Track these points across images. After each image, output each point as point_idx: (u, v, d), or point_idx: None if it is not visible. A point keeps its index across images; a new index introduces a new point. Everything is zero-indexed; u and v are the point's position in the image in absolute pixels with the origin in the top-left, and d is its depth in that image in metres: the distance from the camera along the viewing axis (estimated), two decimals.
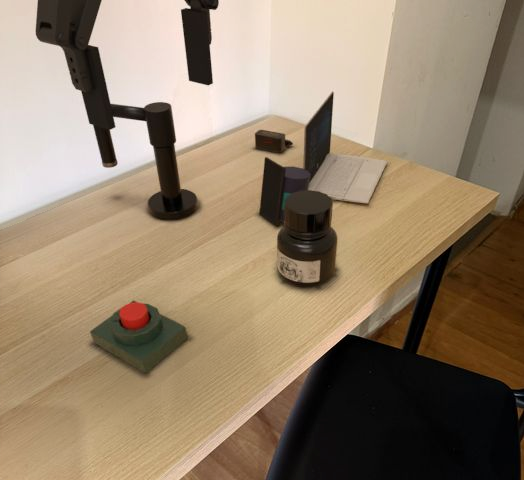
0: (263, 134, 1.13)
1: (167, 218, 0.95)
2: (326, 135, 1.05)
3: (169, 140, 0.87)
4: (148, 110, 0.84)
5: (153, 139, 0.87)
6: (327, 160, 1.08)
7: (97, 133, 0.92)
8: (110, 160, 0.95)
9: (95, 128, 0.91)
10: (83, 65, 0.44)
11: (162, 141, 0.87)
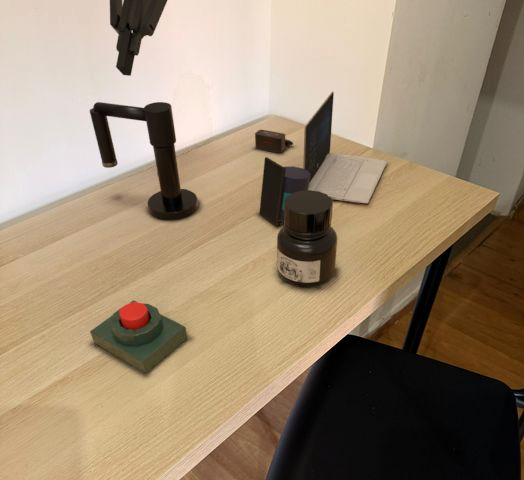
0: (263, 134, 1.13)
1: (167, 218, 0.95)
2: (326, 135, 1.05)
3: (169, 140, 0.87)
4: (148, 110, 0.84)
5: (153, 139, 0.87)
6: (327, 160, 1.08)
7: (97, 133, 0.92)
8: (110, 160, 0.95)
9: (95, 128, 0.91)
10: None
11: (162, 141, 0.87)
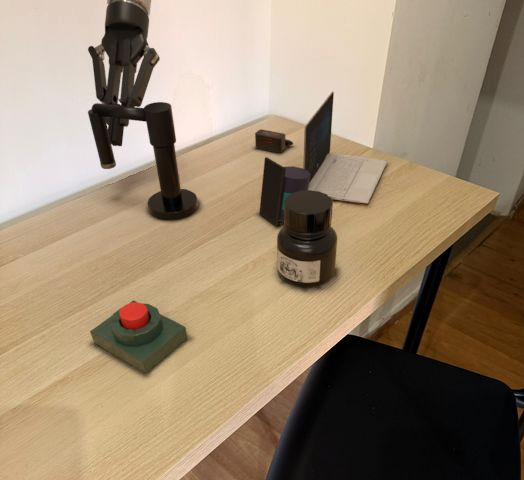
0: (263, 134, 1.13)
1: (167, 218, 0.95)
2: (326, 135, 1.05)
3: (169, 140, 0.88)
4: (148, 110, 0.84)
5: (154, 139, 0.87)
6: (327, 160, 1.08)
7: (96, 134, 0.91)
8: (109, 161, 0.95)
9: (94, 129, 0.91)
10: None
11: (163, 141, 0.87)
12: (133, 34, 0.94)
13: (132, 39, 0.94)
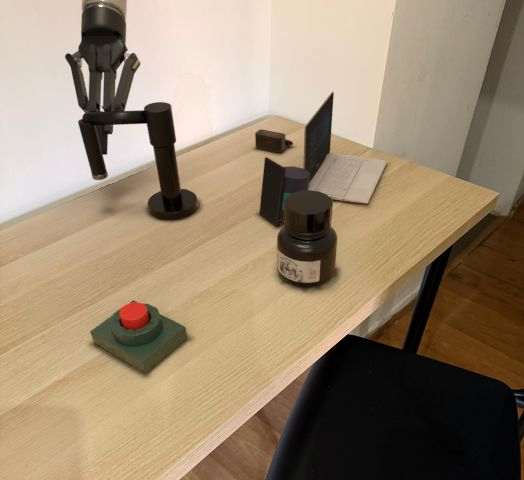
0: (263, 134, 1.13)
1: (167, 218, 0.95)
2: (326, 135, 1.05)
3: (172, 138, 0.88)
4: (152, 111, 0.84)
5: (158, 140, 0.87)
6: (327, 160, 1.08)
7: (89, 145, 0.88)
8: (102, 171, 0.92)
9: (87, 140, 0.88)
10: None
11: (167, 140, 0.87)
12: (112, 39, 0.92)
13: (111, 44, 0.92)
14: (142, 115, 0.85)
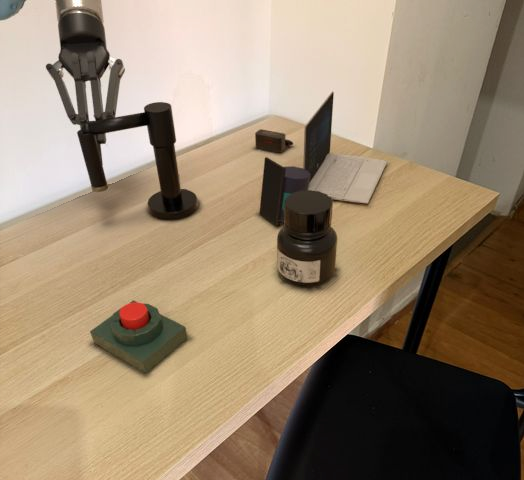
0: (263, 134, 1.13)
1: (167, 218, 0.95)
2: (326, 135, 1.05)
3: (175, 136, 0.88)
4: (156, 111, 0.84)
5: (163, 139, 0.87)
6: (327, 160, 1.08)
7: (91, 156, 0.85)
8: (104, 182, 0.89)
9: (90, 151, 0.84)
10: None
11: (171, 139, 0.88)
12: (94, 46, 0.89)
13: (94, 52, 0.89)
14: (144, 117, 0.85)
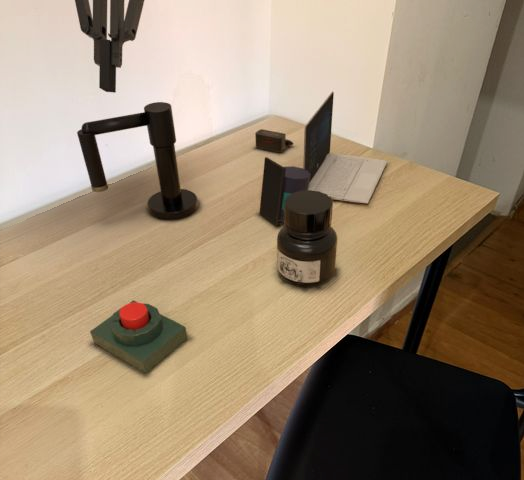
0: (263, 134, 1.13)
1: (167, 218, 0.95)
2: (326, 135, 1.05)
3: (175, 136, 0.88)
4: (156, 111, 0.84)
5: (163, 139, 0.87)
6: (327, 160, 1.08)
7: (91, 156, 0.85)
8: (104, 182, 0.89)
9: (90, 151, 0.84)
10: None
11: (171, 139, 0.88)
12: None
13: None
14: (144, 117, 0.85)
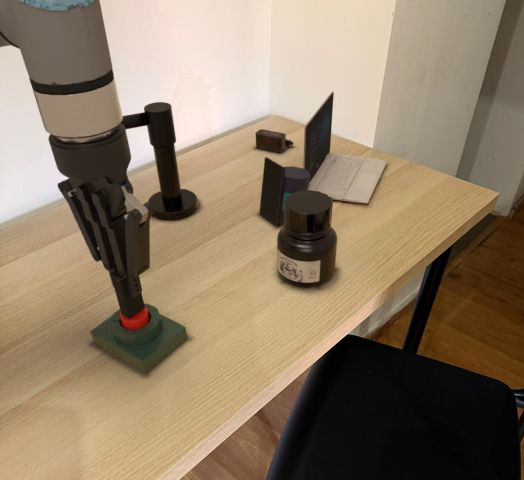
0: (264, 133, 1.13)
1: (167, 218, 0.95)
2: (326, 135, 1.05)
3: (175, 136, 0.88)
4: (156, 111, 0.84)
5: (163, 139, 0.87)
6: (327, 160, 1.08)
7: None
8: None
9: None
10: None
11: (171, 139, 0.88)
12: (101, 180, 0.54)
13: (103, 188, 0.55)
14: (144, 117, 0.85)
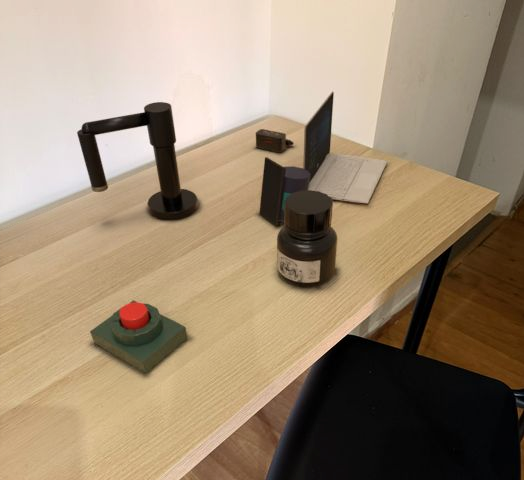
0: (264, 133, 1.13)
1: (167, 218, 0.95)
2: (326, 135, 1.05)
3: (175, 136, 0.88)
4: (156, 111, 0.84)
5: (163, 139, 0.87)
6: (327, 160, 1.08)
7: (91, 156, 0.85)
8: (104, 182, 0.89)
9: (90, 151, 0.84)
10: None
11: (171, 139, 0.88)
12: None
13: None
14: (144, 117, 0.85)
